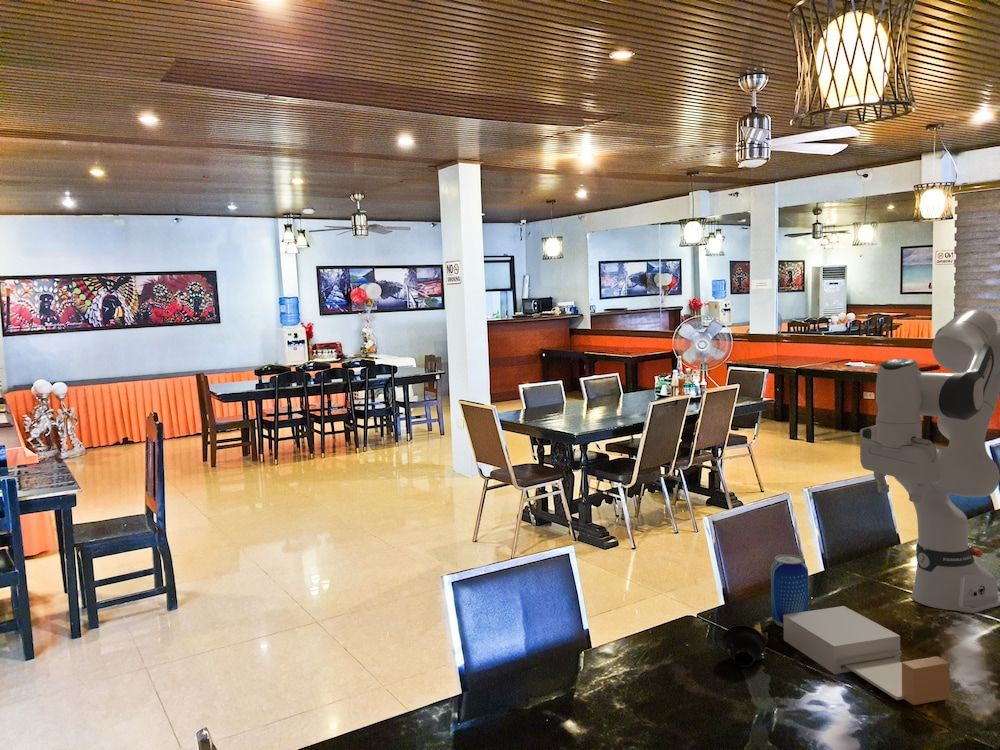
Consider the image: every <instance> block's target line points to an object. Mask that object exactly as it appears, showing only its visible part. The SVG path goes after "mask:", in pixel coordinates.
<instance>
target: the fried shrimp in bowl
mask: <svg viewBox="0 0 1000 750" xmlns="http://www.w3.org/2000/svg"><path fill="white" fill-rule="evenodd" d="M761 628H762V625H761V623H760V622H759V621H756V622H755V623H754V625H753V626H749V625H745V624H744V625H743V624H741V625H734V626H731V627H729V628H728V629H727V630H725V632H724V633H723V634H722V638H721V640H722V646H723V647H724V649H725V650H726V653H727V654H728V655H729V657H730V658H731V659H732V660H733V662H735V663H736V665H737V666H740V667H741V668H742V667H743V668H749V667H751V666H753V664H754V663H755V662H756V661H757V660H758V659H759V658H760V656H761V655H762V654H763V653H765V651H766V647H765V646H766V644H768V640H769V639H768V638H769V637H768V635H769V634H768V632H765V631H764V632H762V629H761Z"/></svg>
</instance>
